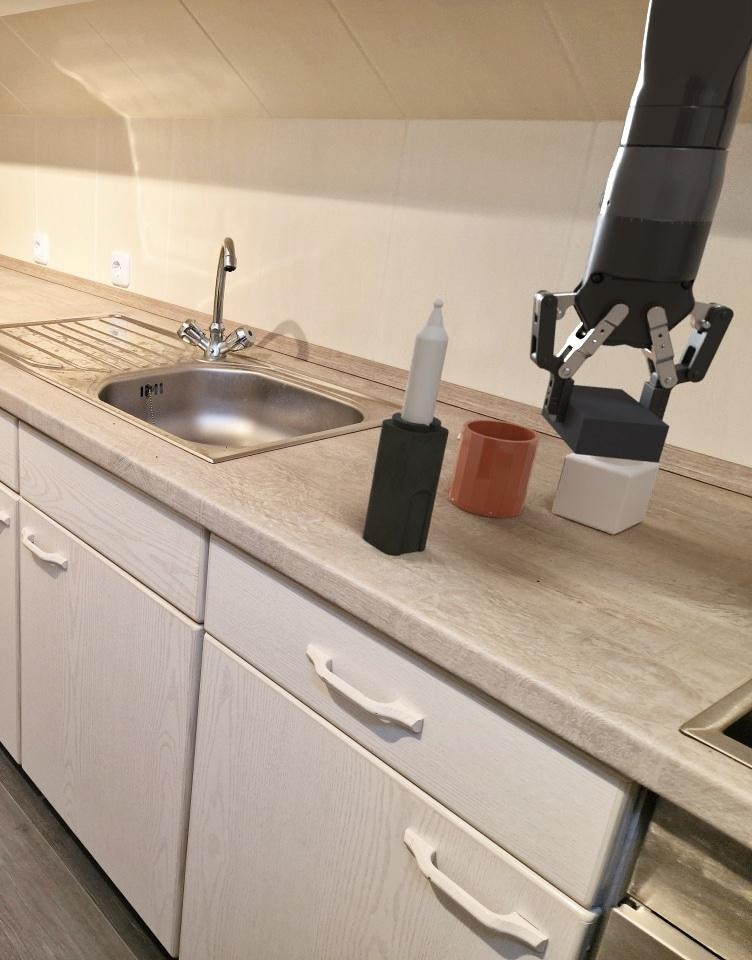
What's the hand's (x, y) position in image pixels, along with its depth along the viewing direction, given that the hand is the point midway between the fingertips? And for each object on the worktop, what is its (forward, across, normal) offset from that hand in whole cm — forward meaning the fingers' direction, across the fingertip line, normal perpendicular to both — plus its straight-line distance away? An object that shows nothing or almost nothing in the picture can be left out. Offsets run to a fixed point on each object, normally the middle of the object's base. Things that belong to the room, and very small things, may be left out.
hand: (599, 423), depth 70 cm
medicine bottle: (+18, +10, +24) cm, 32 cm away
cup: (+17, -2, +24) cm, 30 cm away
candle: (+17, -13, +10) cm, 24 cm away
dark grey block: (+1, 0, 0) cm, 1 cm away
